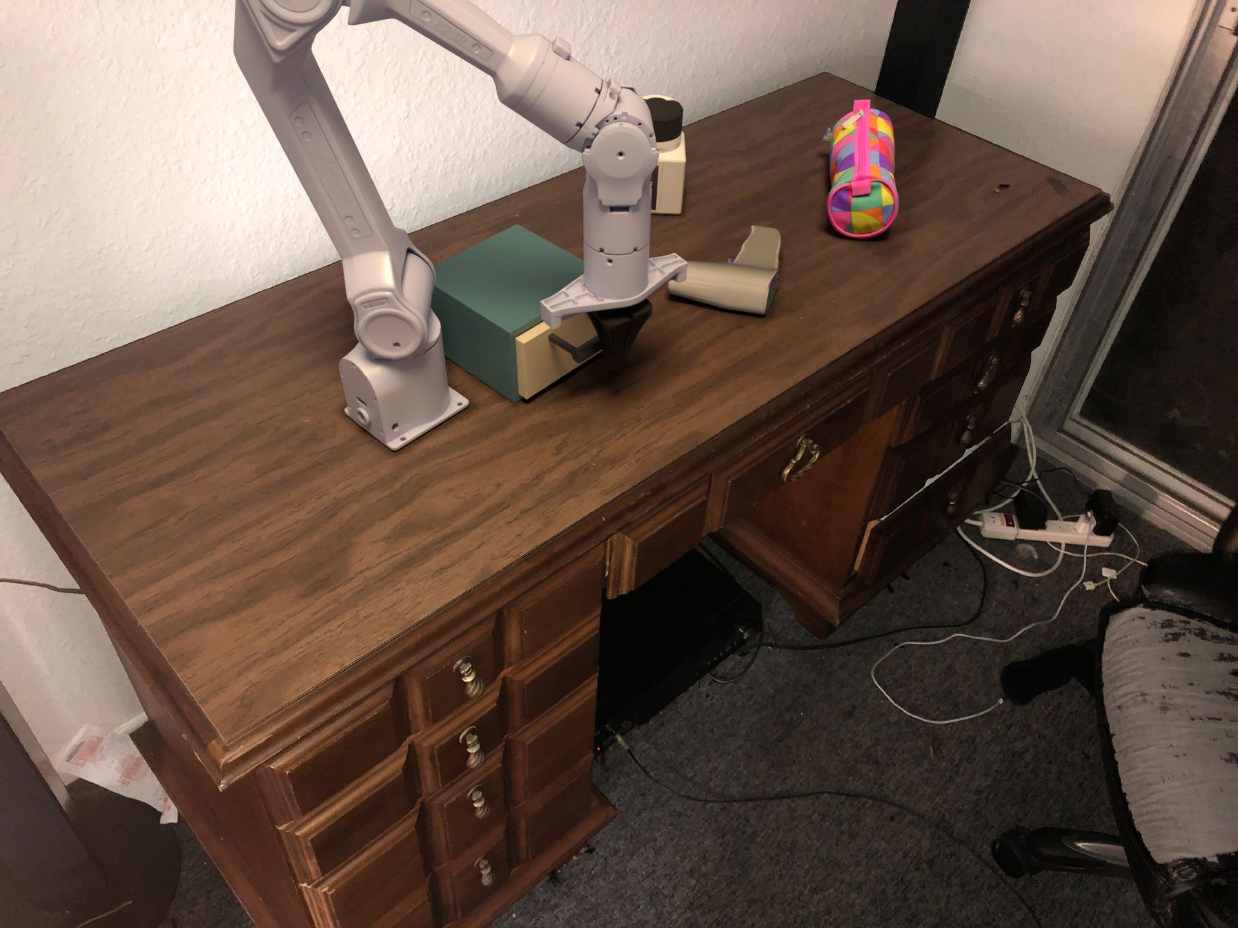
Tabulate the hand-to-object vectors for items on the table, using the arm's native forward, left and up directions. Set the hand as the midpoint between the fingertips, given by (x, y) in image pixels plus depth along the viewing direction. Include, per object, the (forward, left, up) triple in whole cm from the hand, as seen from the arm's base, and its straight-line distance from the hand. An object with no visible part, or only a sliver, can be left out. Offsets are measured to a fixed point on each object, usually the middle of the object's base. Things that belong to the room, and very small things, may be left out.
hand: (614, 362), depth 91 cm
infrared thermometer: (+26, +6, -6) cm, 27 cm away
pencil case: (+52, +5, -6) cm, 53 cm away
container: (+33, +24, -6) cm, 41 cm away
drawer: (0, +10, -5) cm, 11 cm away
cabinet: (0, +14, -6) cm, 15 cm away
